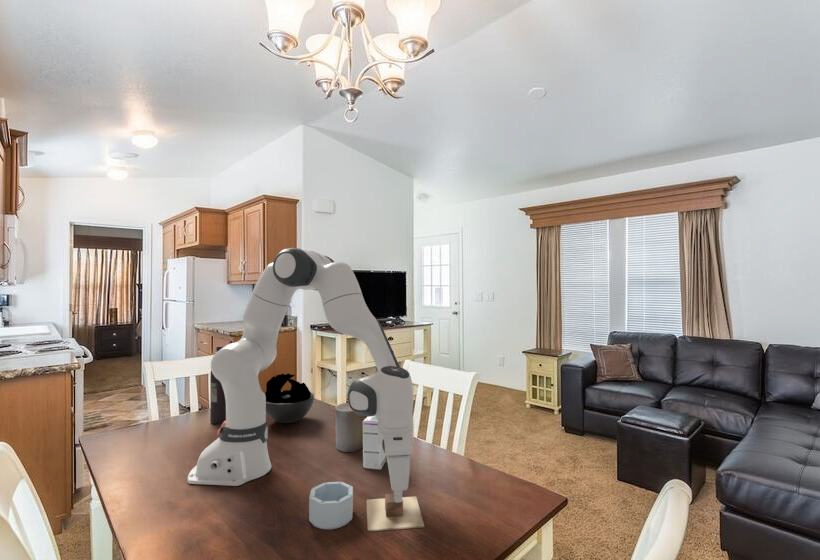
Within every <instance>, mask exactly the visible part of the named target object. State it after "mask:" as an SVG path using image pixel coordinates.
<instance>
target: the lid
mask: <svg viewBox="0 0 820 560" xmlns="http://www.w3.org/2000/svg"><path fill="white" fill-rule="evenodd" d="M366 518H367V519H366V520H367V532H376V531H377V532H380V531H391V530H392V531H393V530H406V529H421V528H422V529H423V528H425V523H424V519H423V515H422V512H421V507H420V505H419V500H418V498H417V496H416V495H415V496H402V502H398V503H396V502H395V501H394V492H393V493H385V494H384V497H383V498H373V499H369V498H368V499H366Z"/></svg>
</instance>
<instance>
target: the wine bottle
mask: <svg viewBox="0 0 820 560" xmlns="http://www.w3.org/2000/svg"><path fill="white" fill-rule="evenodd" d="M224 346H225V345H217V346H216V352H218V351H219V350H220V349H222V348H223V347H224ZM209 382H210V389H209V391H210V392H209V393H210V395H209V396H210V401H209V403H210V405H209V406H210V407H209V409H210V412H209V414H210V416H209V417H210V420H209V421H210V424H213V425H222V423H223V422H224V421H226V400H225V394H224V390H223V387H222V384H221V382H220V381H219V380H218V379H217V378H216V377H215V376H214V375H213V373H212V370H210V381H209Z"/></svg>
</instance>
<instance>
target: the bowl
mask: <svg viewBox="0 0 820 560" xmlns="http://www.w3.org/2000/svg"><path fill="white" fill-rule="evenodd" d="M308 499H309V500H308V511H309V512H308V514H309V515H308V519H309V520H308V521H309V522H310V523H311V525H312V526H313V527H315V528H318V529H320V530H334V529H335V530H336V529H340V528H342V527H344V526H346V525H348V524H349V523H350V522H351V521H352V519H353V512H354V510H353V509H354V487H353V486H352V485H350V484H349V483H345V482H344V481H328V482H327V481H326V482H325V481H324V482H322V483H320V484H319V485H316V486H314V487H312V488H311V490H310V493H309V498H308Z"/></svg>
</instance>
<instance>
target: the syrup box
mask: <svg viewBox="0 0 820 560" xmlns="http://www.w3.org/2000/svg"><path fill="white" fill-rule="evenodd" d="M386 462H387V457H386V456H385V453H384V451H383V448H382V447H381V445H380V444H379V443H378V419H377V417H376V416H370V417H366V418H364V421H363V448H362V467H363V469H370V470H382V468H383V466H384V465H385V463H386Z"/></svg>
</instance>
